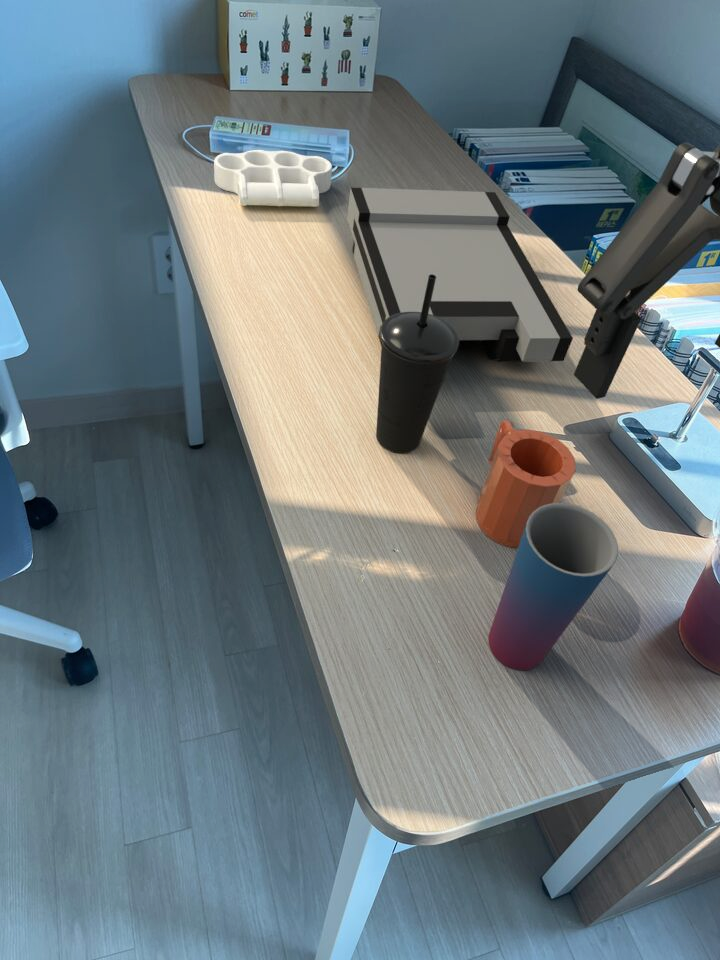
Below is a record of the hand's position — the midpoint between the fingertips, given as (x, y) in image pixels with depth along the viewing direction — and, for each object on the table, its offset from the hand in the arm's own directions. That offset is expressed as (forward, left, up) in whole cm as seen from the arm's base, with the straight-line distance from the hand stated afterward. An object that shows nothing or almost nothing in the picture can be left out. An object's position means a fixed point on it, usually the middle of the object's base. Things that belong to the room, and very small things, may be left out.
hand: (662, 369), depth 55 cm
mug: (+8, +3, -24) cm, 25 cm away
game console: (+42, -2, -24) cm, 48 cm away
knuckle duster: (+75, +14, -24) cm, 80 cm away
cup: (-7, +8, -24) cm, 26 cm away
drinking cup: (+19, +11, -24) cm, 32 cm away
